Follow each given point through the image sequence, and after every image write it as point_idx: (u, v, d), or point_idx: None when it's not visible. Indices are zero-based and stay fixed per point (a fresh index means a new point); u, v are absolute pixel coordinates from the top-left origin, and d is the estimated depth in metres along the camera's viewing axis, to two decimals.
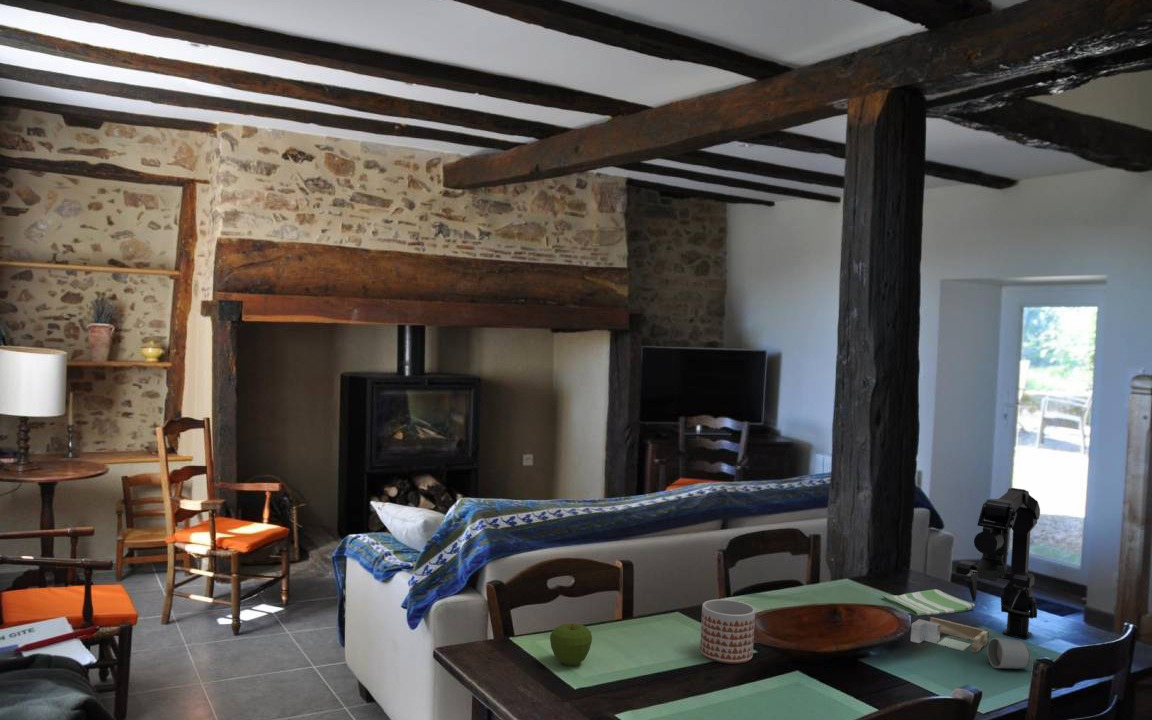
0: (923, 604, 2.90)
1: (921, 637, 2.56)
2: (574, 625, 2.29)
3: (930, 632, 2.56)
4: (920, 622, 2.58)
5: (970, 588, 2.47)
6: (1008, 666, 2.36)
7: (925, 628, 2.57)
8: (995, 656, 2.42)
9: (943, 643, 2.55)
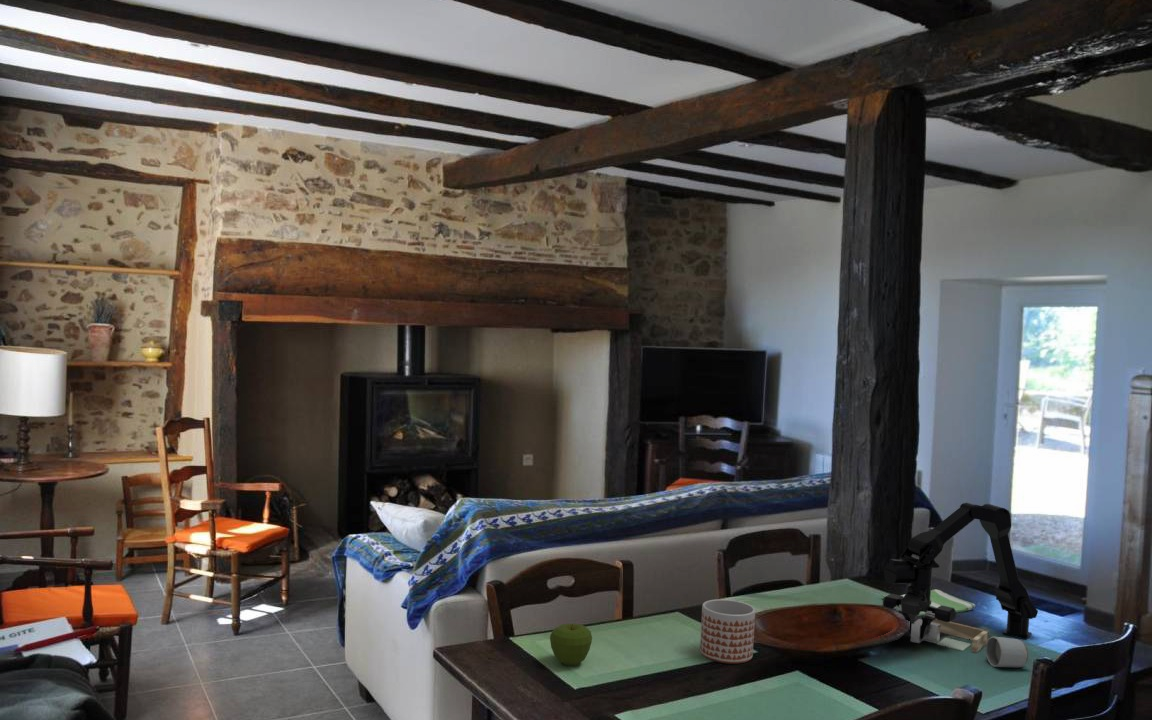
0: None
1: None
2: (574, 625, 2.29)
3: (930, 632, 2.56)
4: (920, 622, 2.58)
5: None
6: (1006, 665, 2.37)
7: None
8: (994, 655, 2.43)
9: (943, 643, 2.55)
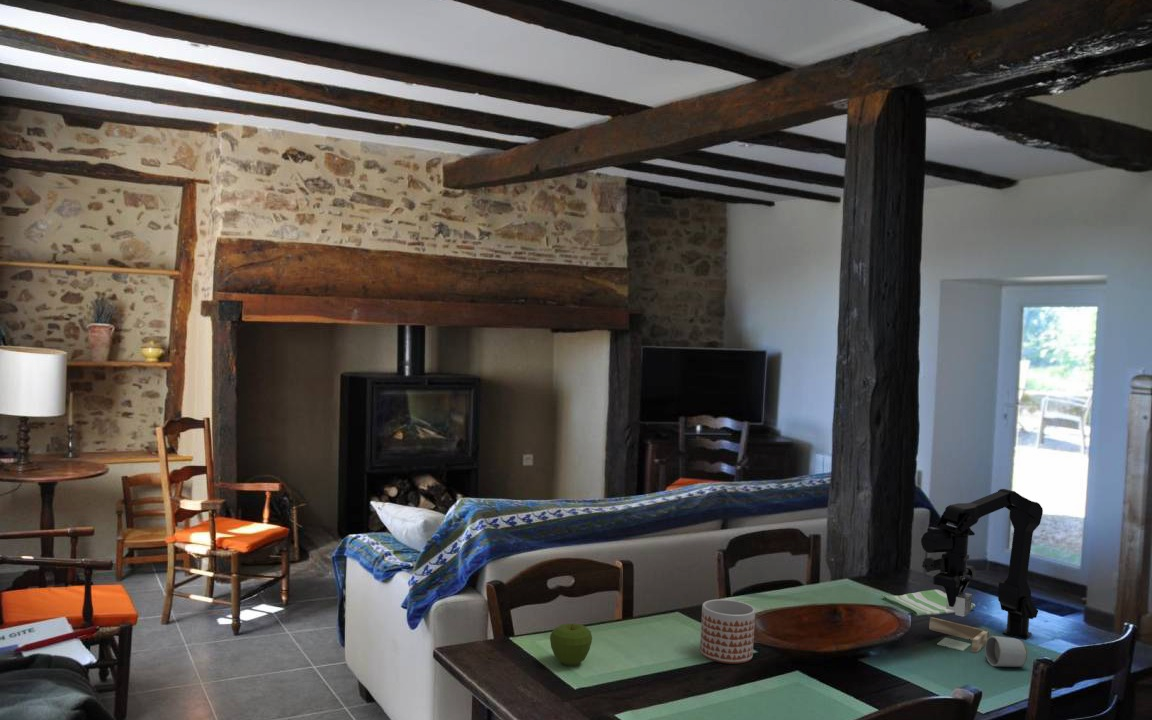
0: (923, 604, 2.90)
1: None
2: (574, 625, 2.29)
3: None
4: (960, 593, 2.55)
5: None
6: (1006, 664, 2.38)
7: None
8: (993, 654, 2.43)
9: (943, 643, 2.55)
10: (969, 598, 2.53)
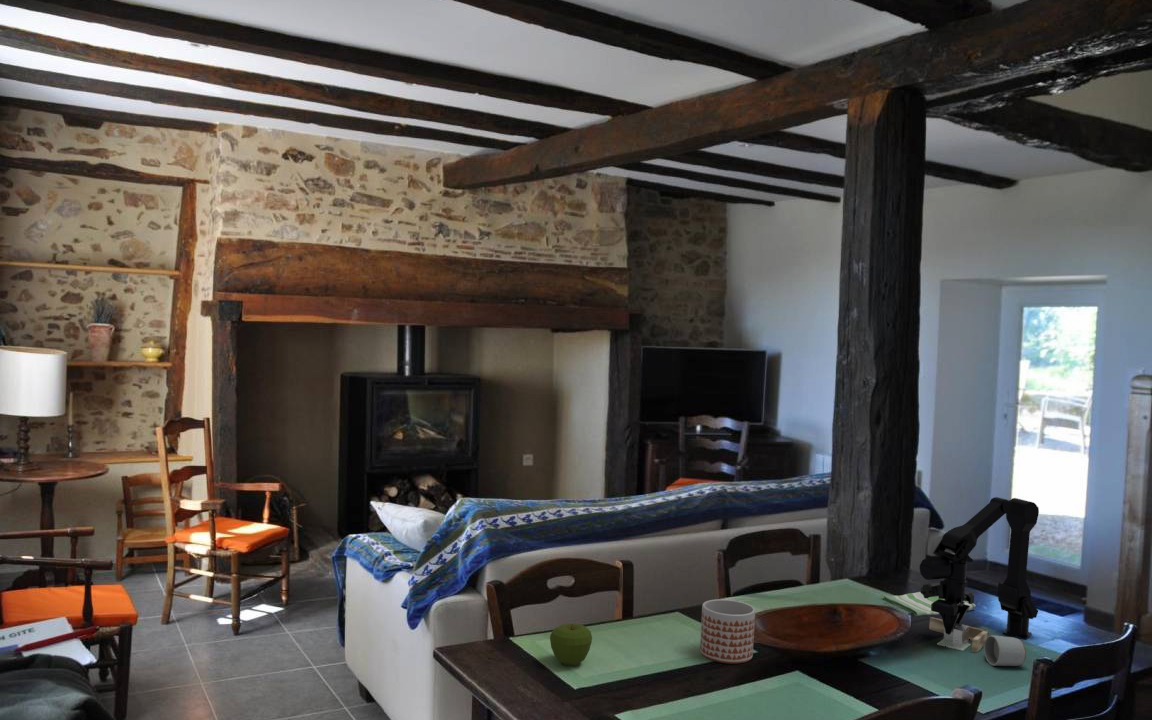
0: (924, 604, 2.90)
1: (949, 637, 2.56)
2: (574, 625, 2.29)
3: None
4: (958, 624, 2.56)
5: None
6: (1005, 663, 2.38)
7: None
8: (992, 654, 2.44)
9: (943, 643, 2.55)
10: (966, 630, 2.54)
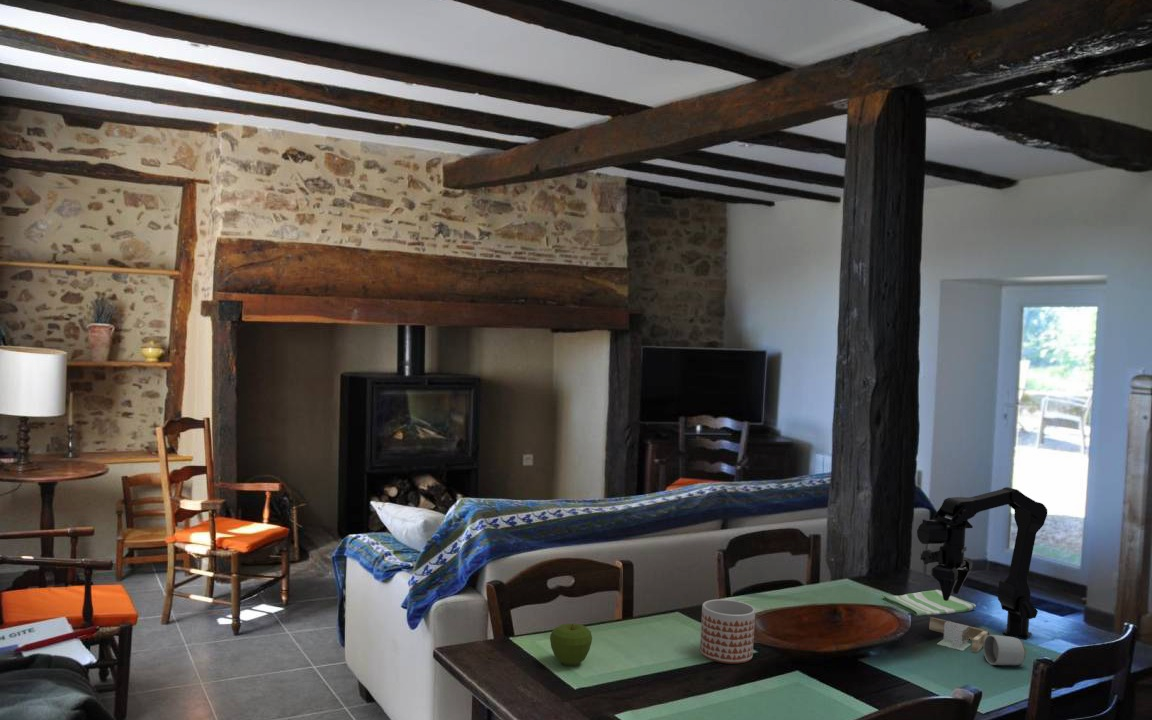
0: (924, 604, 2.90)
1: (949, 637, 2.56)
2: (574, 625, 2.29)
3: None
4: (958, 624, 2.56)
5: None
6: (1004, 663, 2.39)
7: None
8: (991, 653, 2.44)
9: (943, 643, 2.55)
10: (966, 630, 2.54)
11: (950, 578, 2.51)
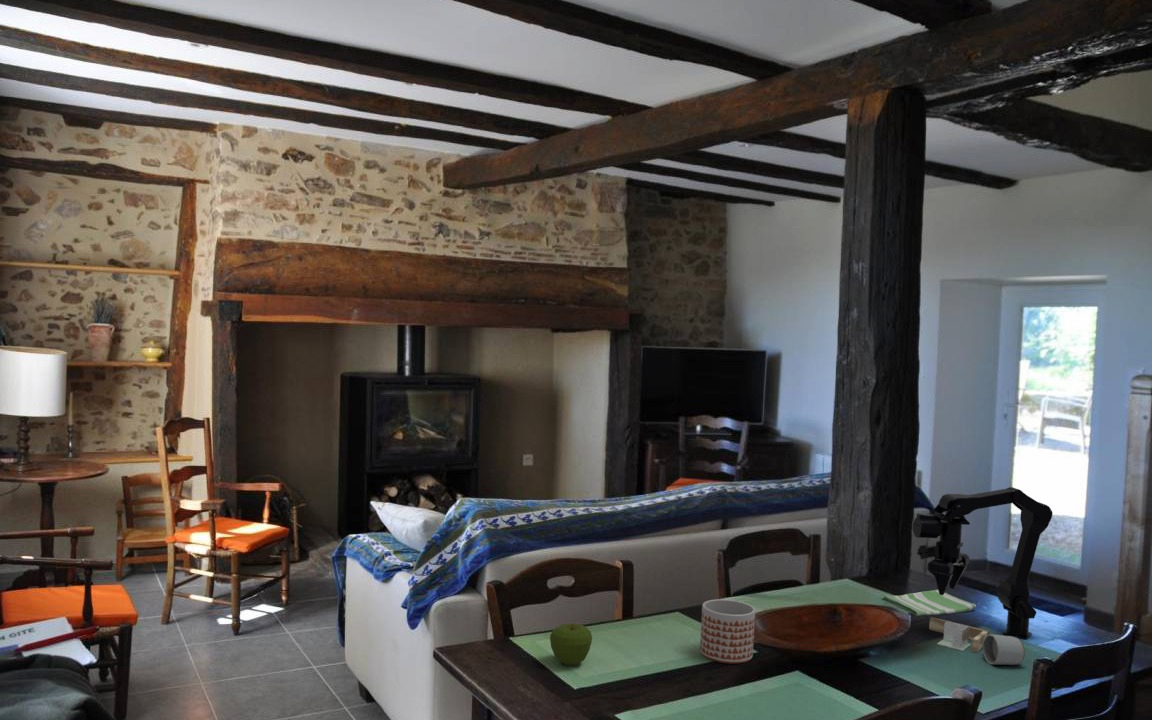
0: (924, 604, 2.90)
1: (949, 637, 2.56)
2: (574, 625, 2.29)
3: None
4: (958, 624, 2.56)
5: None
6: (1003, 662, 2.39)
7: None
8: (990, 652, 2.45)
9: (943, 643, 2.55)
10: (966, 630, 2.54)
11: (945, 572, 2.56)
